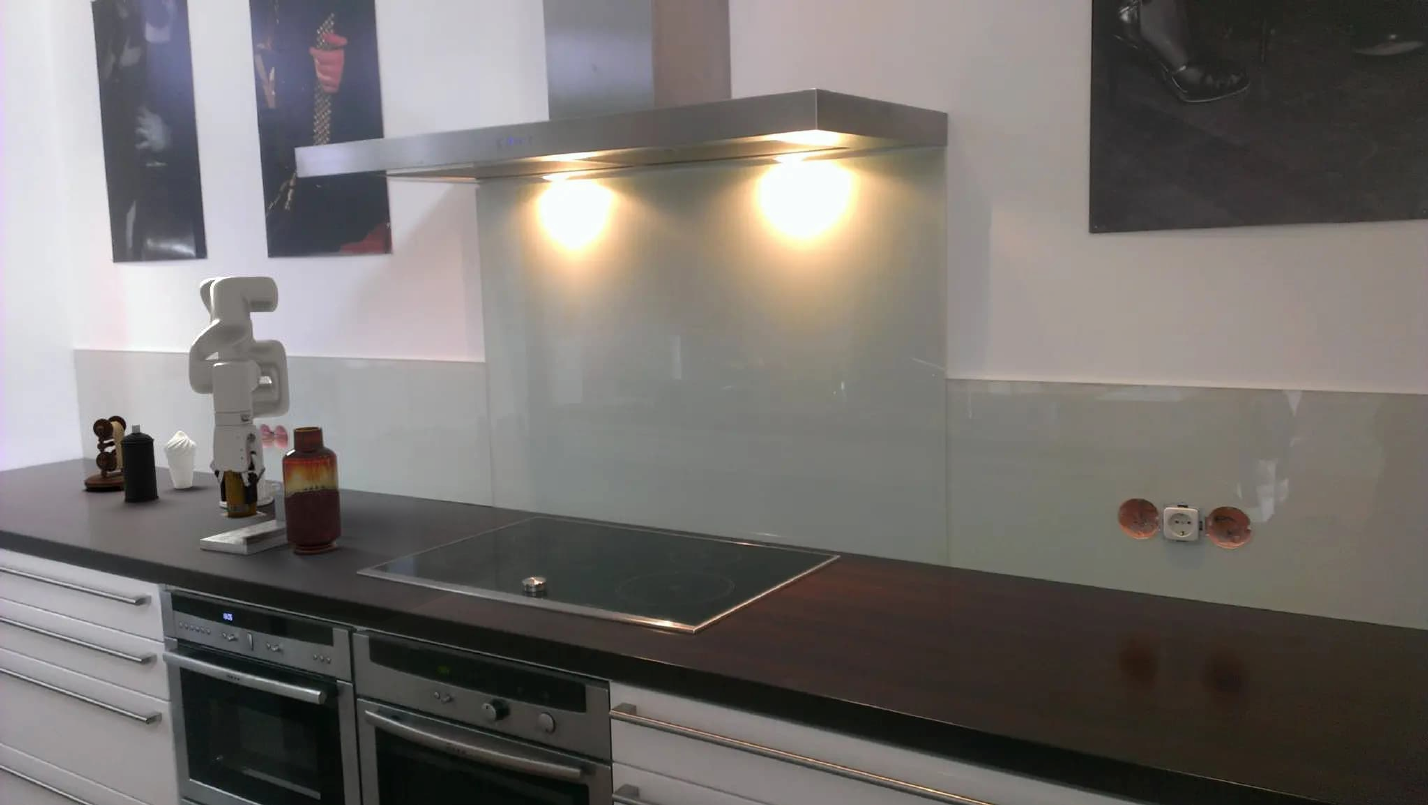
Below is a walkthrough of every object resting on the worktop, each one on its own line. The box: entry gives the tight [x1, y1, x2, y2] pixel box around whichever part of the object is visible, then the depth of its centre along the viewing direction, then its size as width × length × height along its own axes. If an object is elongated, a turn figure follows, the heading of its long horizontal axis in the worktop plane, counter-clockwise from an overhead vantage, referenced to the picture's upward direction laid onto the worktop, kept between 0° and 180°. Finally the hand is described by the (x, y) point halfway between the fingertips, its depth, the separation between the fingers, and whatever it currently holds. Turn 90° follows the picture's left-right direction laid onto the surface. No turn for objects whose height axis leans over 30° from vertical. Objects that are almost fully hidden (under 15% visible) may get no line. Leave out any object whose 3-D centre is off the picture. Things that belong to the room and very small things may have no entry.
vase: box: [281, 426, 342, 555], centre depth 232 cm, size 11×11×26 cm
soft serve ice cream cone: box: [163, 430, 198, 490], centre depth 305 cm, size 8×8×16 cm
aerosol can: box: [119, 423, 160, 503], centre depth 289 cm, size 8×8×20 cm
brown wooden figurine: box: [83, 415, 127, 491], centre depth 307 cm, size 15×15×20 cm
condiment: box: [219, 468, 267, 520], centre depth 235 cm, size 7×8×12 cm
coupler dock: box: [199, 492, 290, 556], centre depth 242 cm, size 22×14×8 cm, turn 155°
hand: (239, 501), depth 236 cm, fingers closed on condiment, 6 cm apart
